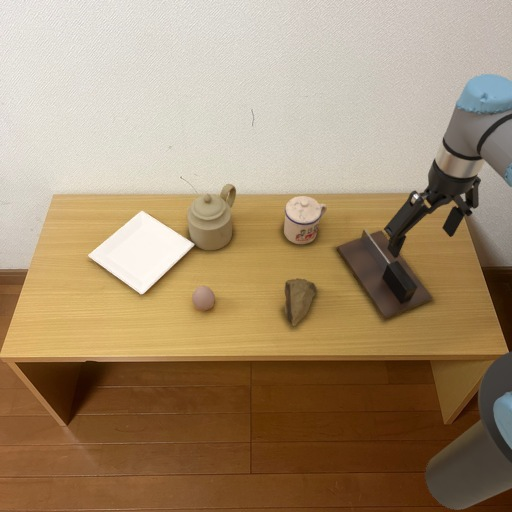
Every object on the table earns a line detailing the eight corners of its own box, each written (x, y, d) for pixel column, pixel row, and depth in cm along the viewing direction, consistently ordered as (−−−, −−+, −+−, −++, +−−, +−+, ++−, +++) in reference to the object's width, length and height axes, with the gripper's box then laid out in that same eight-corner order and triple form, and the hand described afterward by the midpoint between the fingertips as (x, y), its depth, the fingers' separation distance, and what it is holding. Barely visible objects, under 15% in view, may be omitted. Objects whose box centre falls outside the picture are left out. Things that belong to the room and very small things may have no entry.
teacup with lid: (295, 251, 121) (299, 221, 112) (276, 227, 126) (278, 197, 116) (333, 232, 125) (340, 201, 116) (313, 209, 130) (318, 178, 120)
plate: (195, 248, 121) (195, 243, 120) (143, 299, 112) (141, 294, 111) (142, 214, 128) (141, 209, 126) (89, 259, 119) (87, 255, 117)
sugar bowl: (197, 205, 130) (192, 164, 118) (237, 209, 129) (236, 168, 117) (185, 248, 121) (178, 208, 109) (228, 253, 121) (226, 213, 108)
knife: (356, 241, 121) (360, 227, 117) (365, 238, 122) (370, 223, 118) (400, 304, 111) (407, 291, 106) (410, 299, 111) (417, 287, 107)
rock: (309, 270, 115) (272, 281, 111) (327, 269, 107) (288, 281, 103) (320, 313, 115) (283, 326, 112) (338, 316, 107) (300, 329, 104)
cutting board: (430, 300, 113) (432, 297, 112) (384, 319, 110) (385, 316, 109) (380, 233, 125) (381, 230, 124) (336, 249, 122) (337, 246, 120)
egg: (189, 311, 111) (186, 295, 105) (198, 293, 113) (196, 277, 108) (210, 317, 110) (208, 302, 104) (218, 299, 112) (217, 284, 107)
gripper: (499, 132, 86) (458, 211, 103) (381, 170, 80) (358, 248, 97) (529, 158, 82) (481, 236, 99) (407, 201, 76) (378, 276, 93)
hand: (420, 242), depth 98 cm, fingers open, 13 cm apart
